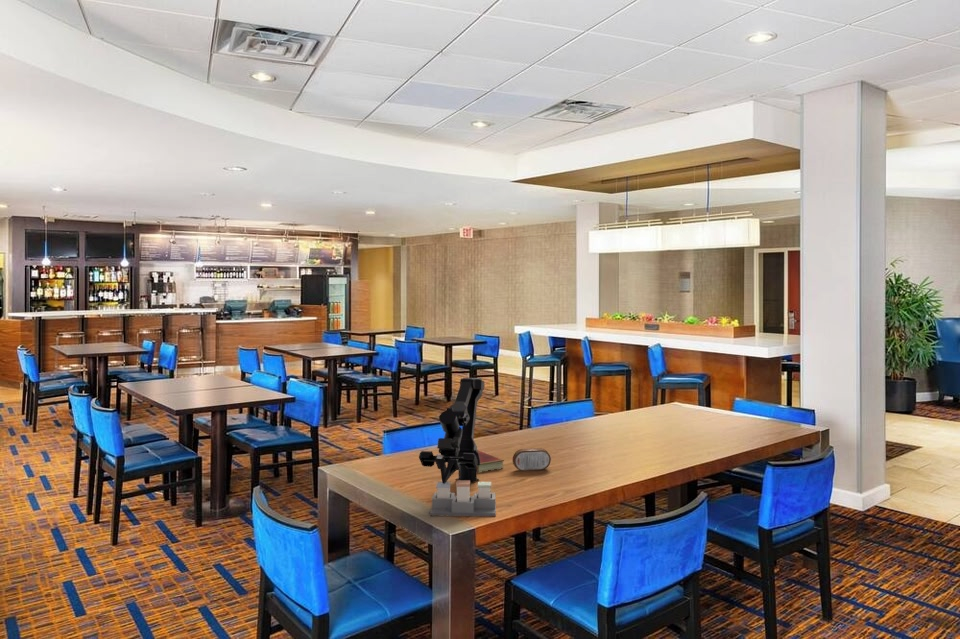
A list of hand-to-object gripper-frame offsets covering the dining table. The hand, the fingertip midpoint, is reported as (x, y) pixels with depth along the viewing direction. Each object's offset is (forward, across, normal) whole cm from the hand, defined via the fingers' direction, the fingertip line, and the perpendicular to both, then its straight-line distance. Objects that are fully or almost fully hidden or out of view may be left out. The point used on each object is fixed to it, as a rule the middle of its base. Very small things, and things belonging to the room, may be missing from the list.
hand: (443, 482), depth 211 cm
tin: (-30, +22, +42) cm, 56 cm away
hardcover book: (-33, -1, +45) cm, 56 cm away
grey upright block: (+5, 0, +5) cm, 7 cm away
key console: (+6, +7, +5) cm, 11 cm away
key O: (+3, +13, +7) cm, 15 cm away
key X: (+6, +7, +2) cm, 10 cm away
